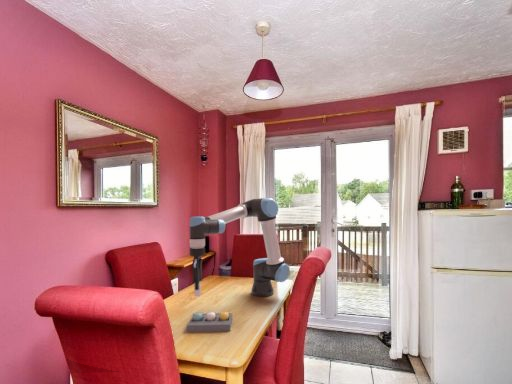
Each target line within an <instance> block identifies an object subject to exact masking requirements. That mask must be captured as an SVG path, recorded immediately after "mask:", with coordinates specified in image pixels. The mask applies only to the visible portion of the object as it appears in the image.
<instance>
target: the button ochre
mask: <svg viewBox="0 0 512 384" xmlns="http://www.w3.org/2000/svg"><path fill="white" fill-rule="evenodd" d="M219 313H220V321H227V320H228V319H229V313H230V312H228V311H221V312H219Z"/></svg>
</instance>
